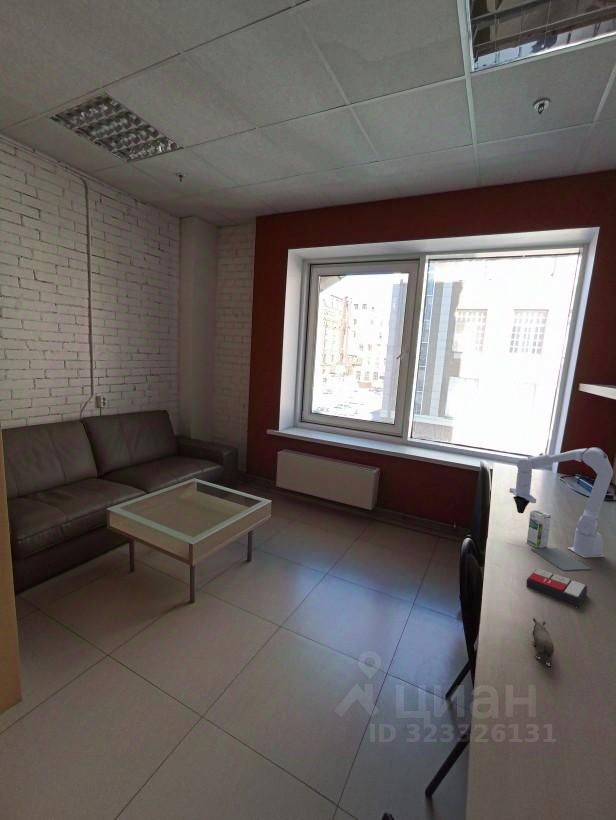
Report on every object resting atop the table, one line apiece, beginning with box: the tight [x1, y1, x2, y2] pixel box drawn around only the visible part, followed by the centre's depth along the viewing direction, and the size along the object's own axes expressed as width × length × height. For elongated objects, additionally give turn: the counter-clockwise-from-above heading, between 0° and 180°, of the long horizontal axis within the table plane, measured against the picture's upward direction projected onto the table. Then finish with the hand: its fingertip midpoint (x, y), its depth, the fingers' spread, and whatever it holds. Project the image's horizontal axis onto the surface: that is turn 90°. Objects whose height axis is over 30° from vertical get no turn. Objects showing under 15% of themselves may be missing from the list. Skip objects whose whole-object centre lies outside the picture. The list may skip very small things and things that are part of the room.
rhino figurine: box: [532, 617, 555, 664], centre depth 97 cm, size 4×14×6 cm, turn 156°
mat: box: [531, 547, 592, 572], centre depth 145 cm, size 12×16×1 cm
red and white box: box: [526, 568, 588, 609], centre depth 124 cm, size 11×4×15 cm
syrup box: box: [526, 509, 552, 549], centre depth 156 cm, size 6×6×14 cm
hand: (520, 512), depth 167 cm, fingers closed
